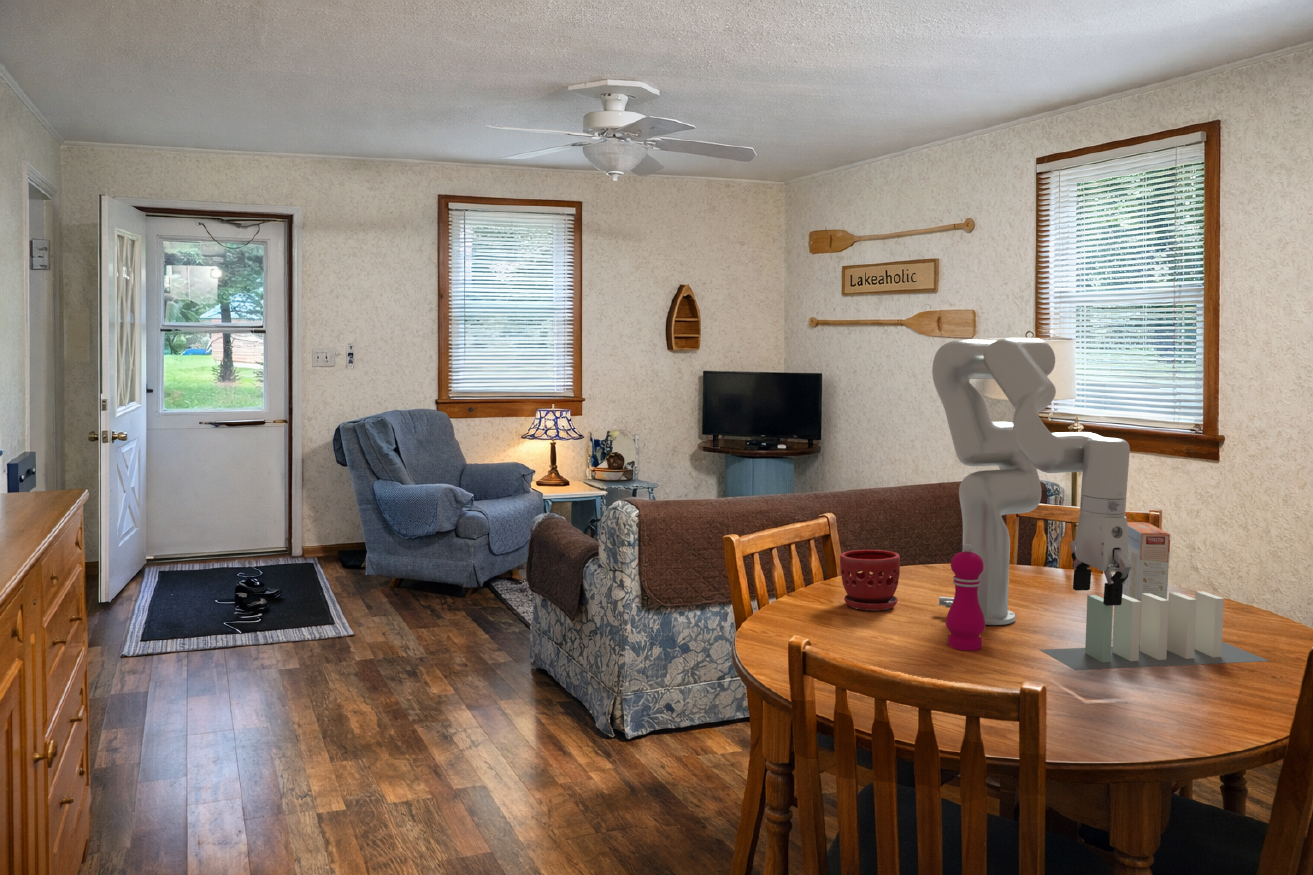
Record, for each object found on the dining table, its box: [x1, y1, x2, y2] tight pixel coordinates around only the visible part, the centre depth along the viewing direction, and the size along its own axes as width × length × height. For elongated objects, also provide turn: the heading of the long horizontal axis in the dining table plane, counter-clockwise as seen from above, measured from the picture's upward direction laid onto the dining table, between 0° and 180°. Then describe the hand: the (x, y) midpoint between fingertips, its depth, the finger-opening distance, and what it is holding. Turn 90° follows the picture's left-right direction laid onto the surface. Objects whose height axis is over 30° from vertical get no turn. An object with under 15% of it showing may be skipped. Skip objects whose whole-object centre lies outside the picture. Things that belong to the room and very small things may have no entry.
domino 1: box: [1112, 594, 1141, 661], centre depth 180 cm, size 2×6×11 cm, turn 8°
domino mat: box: [1040, 641, 1270, 671], centre depth 181 cm, size 38×12×1 cm, turn 98°
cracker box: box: [1122, 521, 1171, 626], centre depth 201 cm, size 14×6×21 cm, turn 168°
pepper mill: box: [945, 544, 986, 652], centre depth 188 cm, size 7×7×20 cm
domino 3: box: [1167, 591, 1197, 659], centre depth 182 cm, size 2×6×11 cm, turn 8°
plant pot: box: [839, 549, 901, 612], centre depth 218 cm, size 13×13×12 cm
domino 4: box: [1194, 590, 1225, 657], centre depth 182 cm, size 2×6×11 cm, turn 8°
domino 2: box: [1139, 593, 1169, 660], centre depth 181 cm, size 2×6×11 cm, turn 8°
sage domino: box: [1084, 594, 1114, 662], centre depth 179 cm, size 2×6×11 cm, turn 8°
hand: (1096, 597), depth 180 cm, fingers open, 9 cm apart
